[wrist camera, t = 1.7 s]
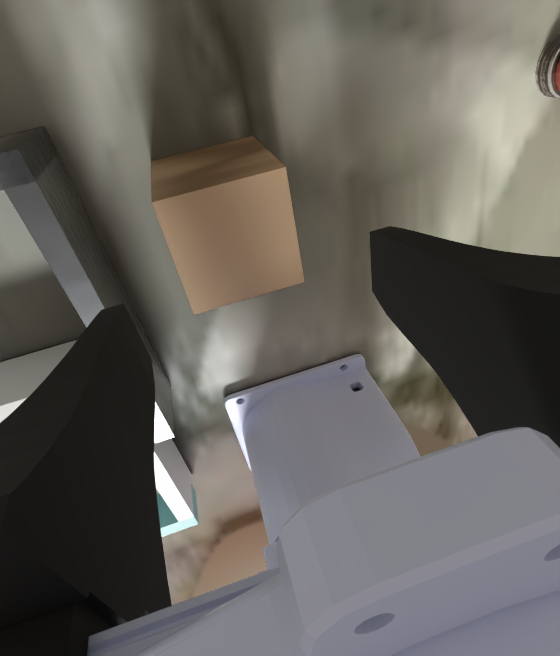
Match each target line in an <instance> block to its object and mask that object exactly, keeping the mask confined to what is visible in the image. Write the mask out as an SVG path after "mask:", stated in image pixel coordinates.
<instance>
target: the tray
mask: <svg viewBox="0 0 560 656" xmlns="http://www.w3.org/2000/svg"><path fill="white" fill-rule="evenodd" d="M76 341H77V340H74V341H71V342H68V343H64V344H61V345H57V346H54V347H51V348H47V349H44V350H41V351H37V352H34V353H30V354H27V355H24V356H20V357H17V358H13V359H10V360H7V361H3V362H0V423H1V422H2V421H3V420H4V419H5V418H7V417H8V416H9V415H10V414H11V413H12V412H13V411H14V410H15V409H16V408H17V407H18V406H19V405H20V404H21V403H22V402H24V401H25V400H26V399H27V398H28V397H29V396H30V395H31V394H32V393H33V392H34V391H35V390H36V389H37V387H38V386H39V385H40V384H41V383H42V382H43V381H44V380H45V379H46V377H47V376H48V375H49V374H50V373H51V372H52V370H53V369H54V368H55V367H56V366H57V365H58V363H59V362H60V361H61V360H62V359H63V358H64V356H65V355H66V354H67V353H68V351H69V350H70V349H71V348H72V346H73V345H74V344H75V342H76ZM154 471H155V482H156V492H157V503H158V511H159V520H160V528H161V537H163V536H166V535H169V534H172V533H175V532H177V531H180V530H183V529H186V528H189V527H192V526H194V525H197V524H199V523H198V513H197V504H196V494H195V485H194V478H193V476H192V474H191V473H190V471H189V469H188V467H187V465H186V463H185V462H184V460H183V458H182V456H181V454H180V453H179V451H178V449H177V447H176V445H175V443H174V442H173V440H172V438H170V439H167V440H164V441H161V442H158V443H155V442H154Z"/></svg>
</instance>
